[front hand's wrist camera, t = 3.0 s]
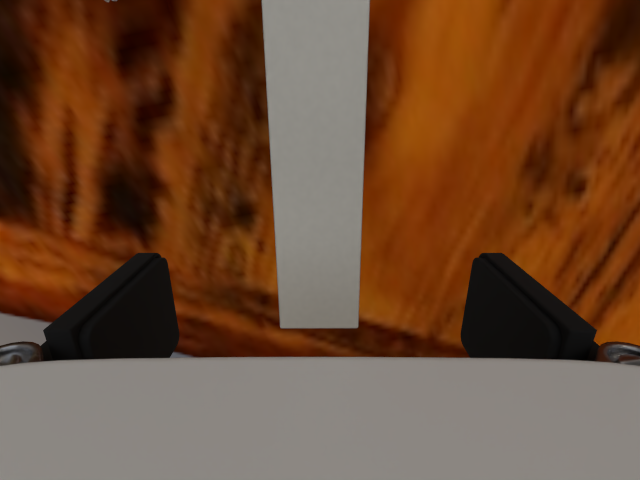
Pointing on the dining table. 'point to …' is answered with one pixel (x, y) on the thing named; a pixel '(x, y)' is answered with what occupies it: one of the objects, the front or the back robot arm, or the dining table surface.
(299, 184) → the beam
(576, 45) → the dining table surface
